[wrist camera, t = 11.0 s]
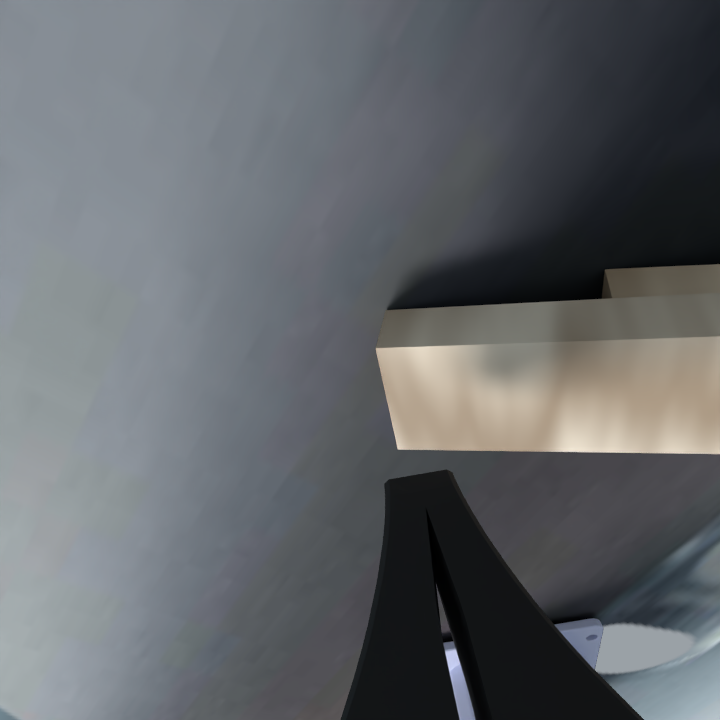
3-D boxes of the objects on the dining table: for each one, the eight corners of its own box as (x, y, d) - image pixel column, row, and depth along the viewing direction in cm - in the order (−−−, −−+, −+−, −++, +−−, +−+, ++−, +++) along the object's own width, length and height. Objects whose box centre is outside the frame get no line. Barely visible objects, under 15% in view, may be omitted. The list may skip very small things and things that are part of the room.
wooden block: (405, 409, 17) (727, 407, 15) (398, 449, 16) (746, 454, 14) (386, 310, 15) (759, 290, 13) (375, 347, 14) (786, 334, 11)
